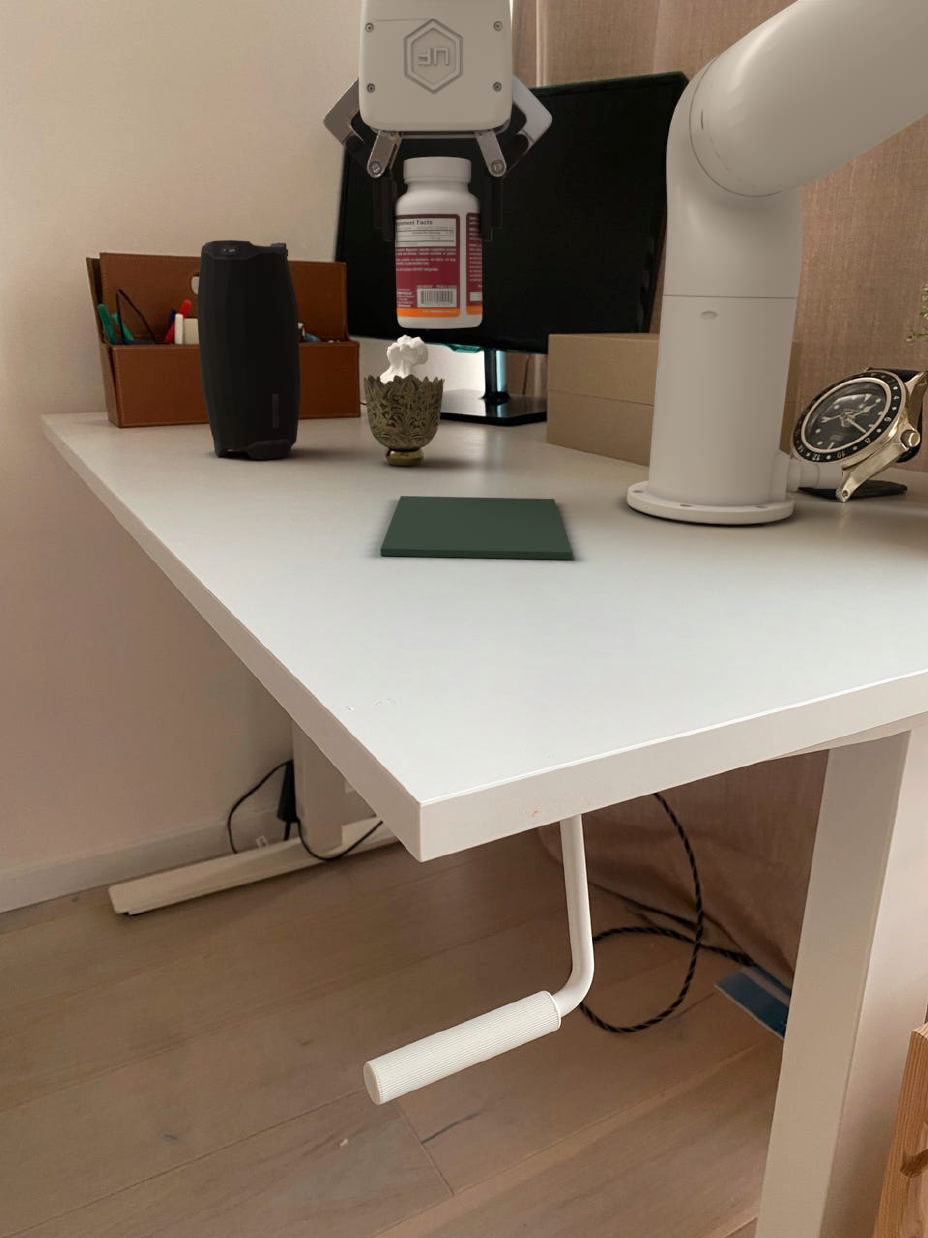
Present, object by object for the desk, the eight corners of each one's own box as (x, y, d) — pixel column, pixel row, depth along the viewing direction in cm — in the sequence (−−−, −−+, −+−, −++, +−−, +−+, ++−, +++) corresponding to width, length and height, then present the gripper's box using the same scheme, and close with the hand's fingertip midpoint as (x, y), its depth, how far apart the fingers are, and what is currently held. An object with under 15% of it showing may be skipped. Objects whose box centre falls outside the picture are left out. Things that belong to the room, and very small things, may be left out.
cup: (425, 455, 98) (425, 372, 95) (456, 467, 91) (457, 379, 89) (353, 459, 94) (352, 374, 92) (381, 472, 88) (380, 381, 86)
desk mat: (554, 505, 77) (554, 498, 76) (571, 559, 62) (571, 552, 61) (400, 502, 77) (400, 495, 77) (380, 555, 62) (380, 548, 61)
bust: (402, 447, 115) (462, 370, 114) (350, 407, 113) (410, 327, 111) (394, 432, 127) (448, 361, 125) (347, 396, 124) (401, 323, 122)
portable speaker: (203, 448, 99) (189, 241, 93) (296, 445, 102) (288, 244, 96) (210, 462, 92) (195, 238, 85) (310, 459, 94) (302, 241, 88)
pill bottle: (448, 324, 75) (448, 167, 72) (499, 327, 71) (501, 159, 67) (380, 326, 72) (376, 161, 68) (429, 329, 67) (427, 152, 64)
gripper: (291, -74, 60) (306, 238, 66) (573, -80, 60) (563, 238, 65) (315, -37, 68) (327, 242, 73) (567, -42, 67) (559, 242, 72)
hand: (438, 237), depth 69 cm, fingers closed on pill bottle, 6 cm apart
